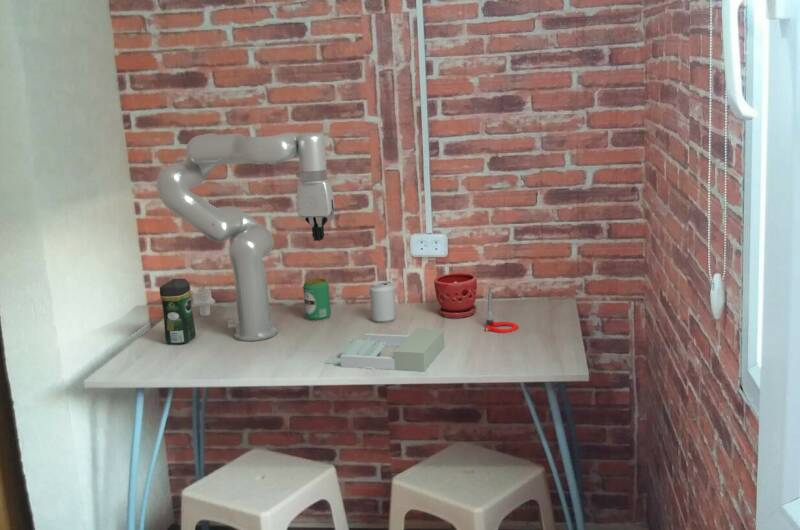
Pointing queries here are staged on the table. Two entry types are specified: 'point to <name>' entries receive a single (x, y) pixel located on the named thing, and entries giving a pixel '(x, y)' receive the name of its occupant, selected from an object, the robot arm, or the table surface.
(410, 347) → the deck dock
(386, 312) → the can
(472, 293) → the plant pot
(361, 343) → the metal bracket
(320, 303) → the beverage can
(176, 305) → the coffee jar
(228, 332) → the table surface
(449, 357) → the table surface
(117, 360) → the table surface
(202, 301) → the pipe fitting
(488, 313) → the tow hook
